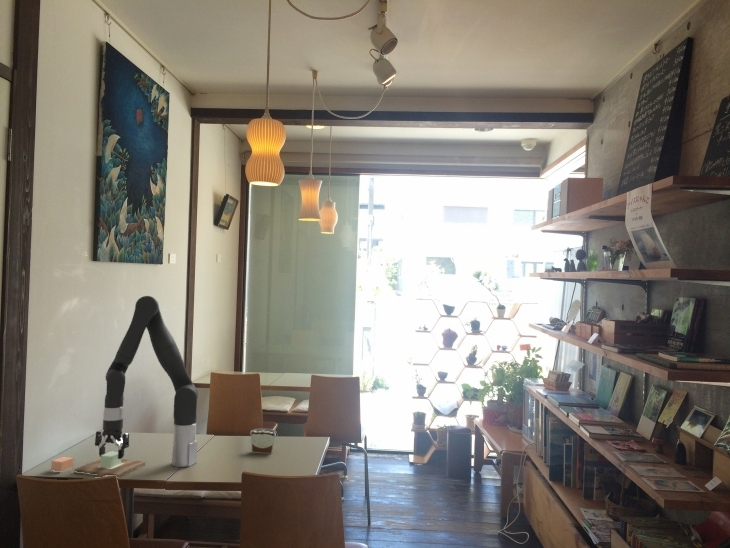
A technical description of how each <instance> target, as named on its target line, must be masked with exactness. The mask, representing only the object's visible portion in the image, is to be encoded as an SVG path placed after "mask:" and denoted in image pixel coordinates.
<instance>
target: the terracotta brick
mask: <svg viewBox="0 0 730 548" xmlns="http://www.w3.org/2000/svg"><path fill="white" fill-rule="evenodd" d="M50 464H51V465H50V471H51V470H55V471H64V470H66V469H68V468H71V467H73V468H74V457H68V456H62V457H58V458H56V459H55V458H54V459H53V460H51V463H50Z"/></svg>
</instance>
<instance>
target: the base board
mask: <svg viewBox="0 0 730 548" xmlns="http://www.w3.org/2000/svg"><path fill="white" fill-rule="evenodd" d="M100 463H101V457H100V458H99V459H95V460H94V461H90V462H89V463H86V464H84V465H81V466H79V467H76V468H73V469H74V471H77V472H84V473H90V474H97V475H100V476H99V477H102V476H105V475H116V476H117V477H120V478H122V477H123V475H124V476H126V475H128V474H130V473H132V472H133V471H132V470H134V469H136V470H138V469H139V468H138V467H140V468H142V467H144V466H146V461H142V460H133V459H126V458H121V464H119V465H117V466H114V467H112V468H107V467H100ZM143 465H144V466H143ZM141 466H142V467H141ZM137 468H138V469H137ZM131 471H132V472H131ZM134 471H135V470H134ZM129 472H130V473H129ZM127 473H128V474H127ZM125 474H126V475H125ZM121 476H122V477H121Z"/></svg>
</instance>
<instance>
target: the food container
mask: <svg viewBox="0 0 730 548" xmlns="http://www.w3.org/2000/svg"><path fill="white" fill-rule="evenodd" d="M249 436H250V438H251V439H250V441H251V454H252V453H253V454H255V453H256V454H268V455H269V454H271V455H272V454H273V450H274V443H275V442H274V440H275V437H277V434H276V431H275V429H272V428H265V427H263V428H254V429H252V430H250V432H249Z"/></svg>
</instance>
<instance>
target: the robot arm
mask: <svg viewBox="0 0 730 548" xmlns="http://www.w3.org/2000/svg"><path fill="white" fill-rule="evenodd" d="M134 307H135V308H134V312H133V314H132V315H133V316H132V318H131V322H130V324H129V326H128V330H126V332H125V335H124V337H123V339H122V341H121V343H120V345H119V346H118V349H117V350H116V351H117V352H116V354H115V356H114V359H113V361H112V362H111V364H110V366H109V367H108V369H107V371H106V374H105V381H106V394H105V397H104V409H103V413H102V416H103V418H102V429H100V430H97V431H96V432H95V440H94V446H95V447H98V455H99V457H100V458H101V455H103V454H106V445H107V444H110V443H111V444H114V445H115V446H117V447H116V448H118V450H117V452H118V459H124V456H125V449H127V448H129V447H130V433H129V432H125V433H124V432H123V427H124V401H125V400H124V399H125V398H124V393H125V386H126V372H127V370H128V368H129V366H130V365H131V364H132V363H133V361H134V359H135V356H136V354H137V352H138V349H139V346H140V344H141V342H142V339H143V338H142V337H144V333H145V331H146V330H147V332H148V335H149V336H148V337H149V340H150V344H151V345H152V350H153V351H154V353H155V356H156V359H157V360H158V363H159V365H160V366H161V368H162V369H163V371H164V372H165V373H166V374H167V375H168V377H169V378H170V380H171V382H172V386H173V388H174V391H175V394H174V398H173V433H172V434H173V435H172V455H171V457H172V459H171V465H172V466H173V467H178V468H179V467H180V468H183V467H188V468H189V467H191V466H192V465H196V463H197V459H198V439H196V436H197V421H198V420H197V419H198V418H197V406H198V405H197V404H198V397H199V392H198V388H196V385H195V384H194V382H193V381H192V379H191V377H190V375H189V374H188V370H187V369H186V365H185V363H184V360H183V357H182V354H181V352H180V349H179V348H178V345H177V342H176V341H175V338H174V337H173V335H172V334H171V332H170V330H169V329H168V328H167V326H166V324H165V321H164V319H163V316H162V313H161V311H160V306H159V302H158V300H157V299H156V298H155V297H153V296H150V295H144V296H143V295H142V296H141V297H140V298H138V299H137V300H136V302H135V306H134Z"/></svg>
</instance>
